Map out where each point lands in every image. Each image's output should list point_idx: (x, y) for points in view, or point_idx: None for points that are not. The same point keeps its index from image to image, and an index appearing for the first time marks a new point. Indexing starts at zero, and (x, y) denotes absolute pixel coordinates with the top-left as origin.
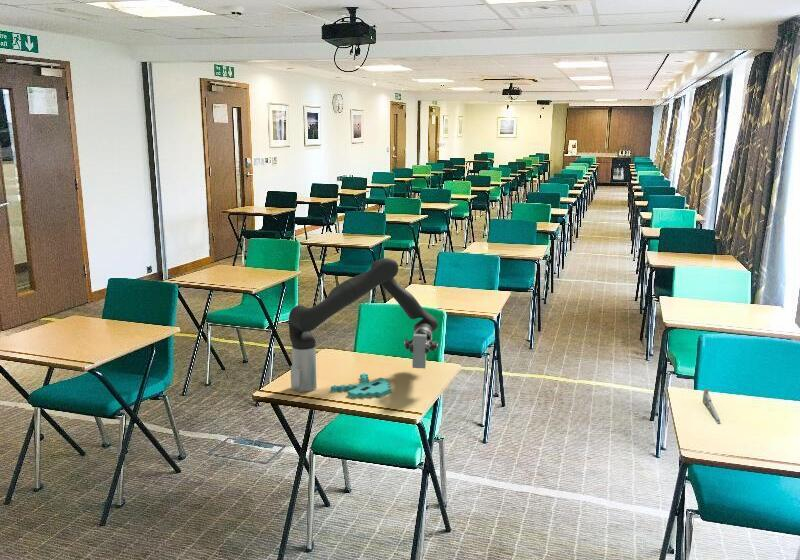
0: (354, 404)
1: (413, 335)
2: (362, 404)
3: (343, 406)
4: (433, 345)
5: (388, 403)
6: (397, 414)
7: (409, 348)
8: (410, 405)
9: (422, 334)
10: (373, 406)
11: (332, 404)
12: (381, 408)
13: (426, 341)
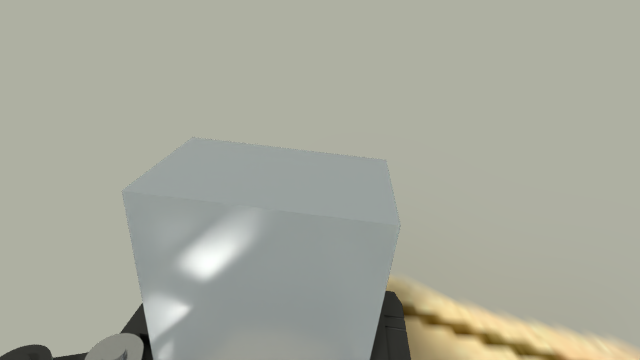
0: (545, 353)
1: (385, 168)
2: (514, 351)
3: (571, 336)
4: (31, 352)
5: (414, 357)
6: None
7: (399, 311)
8: None
9: (219, 188)
10: (462, 331)
11: (627, 356)
12: (426, 313)
13: (145, 306)
